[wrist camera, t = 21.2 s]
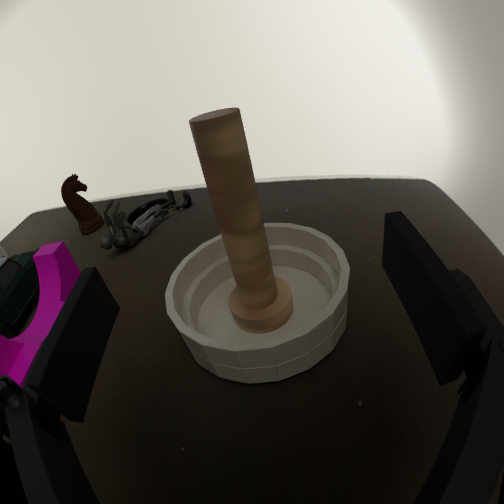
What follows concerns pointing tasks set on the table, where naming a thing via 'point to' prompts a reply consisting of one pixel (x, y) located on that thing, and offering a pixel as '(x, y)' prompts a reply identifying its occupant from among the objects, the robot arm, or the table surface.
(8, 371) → the toy block
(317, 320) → the bowl
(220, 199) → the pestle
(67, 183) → the chess piece
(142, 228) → the zombie figurine
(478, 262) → the table surface
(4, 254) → the shape sorter
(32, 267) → the miniature car
